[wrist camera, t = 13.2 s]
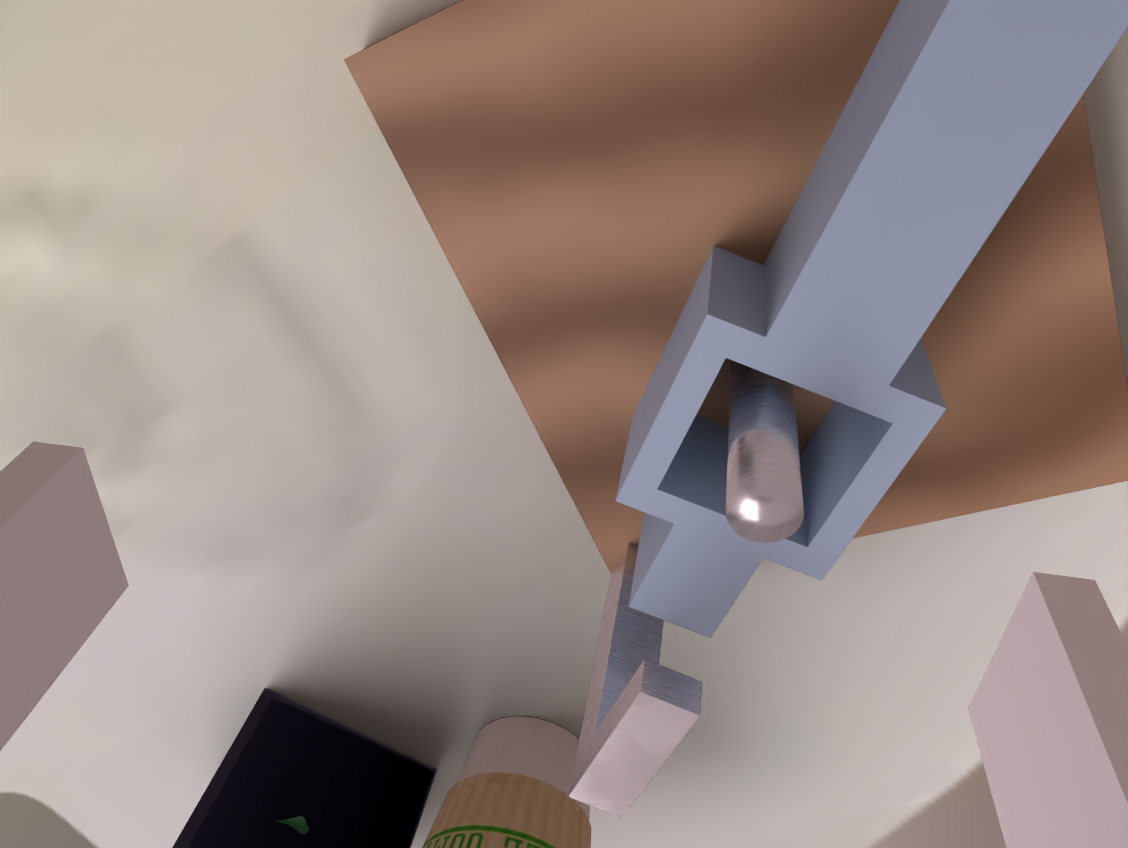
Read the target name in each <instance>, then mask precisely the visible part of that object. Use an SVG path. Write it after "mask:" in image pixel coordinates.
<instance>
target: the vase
mask: <svg viewBox="0 0 1128 848" xmlns="http://www.w3.org/2000/svg"><path fill="white" fill-rule="evenodd" d="M436 771H437V770H436V769H434V768H432V767H430V766H428V765H425V764H423V763H421V762H419V761H417V760H415V759H413V758H411V757H409V756H406V755H404V754H402V753H400V752H398V751H396V750H394V749H392V748H390V747H387V746H385V745H383V744H381V743H379V742H377V741H375V740H373V739H370V738H368V737H366V736H364V735H362V734H360V733H358V732H356V731H354V730H351V729H349V728H347V727H345V726H343V725H341V724H339V723H337V722H335V721H332V720H330V719H328V718H326V717H324V716H322V715H320V714H318V713H315V712H313V711H311V710H309V709H307V708H305V707H303V706H301V705H299V704H296V703H294V702H292V701H290V700H288V699H286V698H284V697H282V696H279V695H277V694H275V693H273V692H271V691H269V690H267V689H264V690H263V692H262V694H261V695H260V697H259V699H258V701H257V702H256V704H255V706H254V708H253V709H252V711H251V713H250V714H249V716H248V718H247V720H246V721H245V723H244V725H243V727H242V728H241V730H240V732H239V733H238V735H237V737H236V739H235V740H234V742H233V744H232V746H231V747H230V749H229V751H228V752H227V754H226V756H225V758H224V759H223V761H222V763H221V765H220V766H219V768H218V770H217V771H216V773H215V775H214V777H213V778H212V780H211V782H210V784H209V785H208V787H207V789H206V790H205V792H204V794H203V796H202V797H201V799H200V801H199V803H198V804H197V806H196V808H195V809H194V811H193V813H192V815H191V816H190V818H189V820H188V822H187V823H186V825H185V827H184V829H183V830H182V832H181V834H180V835H179V837H178V839H177V841H176V842H175V844H174V846H173V848H411V845H412V842H413V839H414V836H415V833H416V830H417V827H418V824H419V821H420V818H421V815H422V813H423V810H424V807H425V804H426V801H427V798H428V795H429V792H430V789H431V786H432V783H433V780H434V777H435V774H436Z"/></svg>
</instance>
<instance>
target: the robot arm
mask: <svg viewBox="0 0 1128 848" xmlns="http://www.w3.org/2000/svg"><path fill="white" fill-rule="evenodd" d="M128 586H129V585H128V582H127V579H126V576H125V573H124V570H123V567H122V564H121V561H120V558H119V555H118V552H117V549H116V546H115V543H114V540H113V537H112V534H111V531H110V528H109V525H108V522H107V519H106V516H105V513H104V510H103V507H102V504H101V501H100V498H99V495H98V492H97V489H96V486H95V483H94V479H93V476H92V473H91V470H90V467H89V464H88V461H87V458H86V455H85V452H84V449H83V448H79V447H72V446H64V445H56V444H49V443H41V442H32V443H31V444H30V445H29V446H28V447H27V448H26V449H25V450H24V451H22V452H21V453H20V454H19V455H18V456H17V457H16V458H15V459H14V460H12V461H11V462H10V463H9V464H8V465H7V466H6V467H5V468H4V469H3V470H1V471H0V751H1V750H2V748H3V747H4V746H5V744H6V743H7V742H8V741H9V739H10V738H11V737H12V735H13V734H14V733H15V731H16V730H17V729H18V728H19V726H20V725H21V724H22V722H23V721H24V720H25V719H26V717H27V716H28V715H29V713H30V712H31V711H32V710H33V708H34V707H35V706H36V704H37V703H38V702H39V701H40V699H41V698H42V697H43V695H44V694H45V693H46V691H47V690H48V689H49V688H50V686H51V685H52V684H53V682H54V681H55V680H56V679H57V677H58V676H59V675H60V673H61V672H62V671H63V670H64V668H65V667H66V666H67V664H68V663H69V662H70V660H71V659H72V658H73V657H74V655H75V654H76V653H77V651H78V650H79V649H80V648H81V646H82V645H83V644H84V642H85V641H86V640H87V639H88V637H89V636H90V635H91V633H92V632H93V631H94V630H95V628H96V627H97V626H98V624H99V623H100V622H101V620H102V619H103V618H104V617H105V615H106V614H107V613H108V611H109V610H110V609H111V608H112V606H113V605H114V604H115V602H116V601H117V600H118V599H119V597H120V596H121V595H122V593H123V592H124V591H125V590H126V588H127V587H128ZM968 709H969V713H970V716H971V720H972V724H973V727H974V731H975V735H976V738H977V742H978V746H979V749H980V753H981V757H982V760H983V764H984V767H985V771H986V775H987V778H988V782H989V786H990V789H991V793H992V797H993V800H994V804H995V808H996V811H997V815H998V819H999V822H1000V826H1001V829H1002V833H1003V837H1004V840H1005V844H1006V848H1128V647H1127V645H1126V643H1125V641H1124V639H1123V637H1122V635H1121V633H1120V631H1119V629H1118V626H1117V624H1116V622H1115V620H1114V618H1113V616H1112V614H1111V612H1110V610H1109V608H1108V606H1107V604H1106V602H1105V600H1104V598H1103V596H1102V594H1101V591H1100V589H1099V587H1098V585H1097V583H1096V581H1095V580H1090V579H1082V578H1074V577H1067V576H1059V575H1051V574H1044V573H1036V572H1033V573H1032V575H1031V577H1030V579H1029V582H1028V584H1027V586H1026V588H1025V590H1024V592H1023V594H1022V596H1021V598H1020V600H1019V603H1018V605H1017V607H1016V609H1015V611H1014V613H1013V615H1012V617H1011V619H1010V621H1009V624H1008V626H1007V628H1006V630H1005V632H1004V634H1003V636H1002V638H1001V640H1000V642H999V644H998V647H997V649H996V651H995V653H994V655H993V657H992V659H991V661H990V663H989V665H988V668H987V670H986V672H985V674H984V676H983V678H982V680H981V682H980V684H979V686H978V689H977V691H976V693H975V695H974V697H973V699H972V701H971V703H970V705H969V707H968Z"/></svg>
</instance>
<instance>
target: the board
mask: <svg viewBox="0 0 1128 848" xmlns="http://www.w3.org/2000/svg"><path fill="white" fill-rule="evenodd" d="M899 1H900V0H462V1H460V2H458V3H456V4H454V5H452V6H450V7H448V8H446V9H444V10H442V11H440V12H438V13H436V14H434V15H432V16H430V17H428V18H426V19H424V20H422V21H420V22H418V23H416V24H414V25H412V26H410V27H408V28H406V29H404V30H402V31H400V32H398V33H396V34H394V35H392V36H390V37H388V38H386V39H384V40H382V41H380V42H378V43H376V44H374V45H372V46H370V47H368V48H366V49H364V50H362V51H360V52H358V53H356V54H354V55H352V56H350V57H348V58H346V59H344V60H345V62H346V64H347V66H348V68H349V70H350V72H351V74H352V76H353V78H354V80H355V82H356V84H357V85H358V87H359V89H360V91H361V93H362V95H363V97H364V99H365V101H366V103H367V105H368V107H369V109H370V110H371V112H372V114H373V116H374V118H375V120H376V122H377V124H378V126H379V128H380V130H381V132H382V134H383V135H384V137H385V139H386V141H387V143H388V145H389V147H390V149H391V151H392V153H393V155H394V157H395V159H396V161H397V162H398V164H399V166H400V168H401V170H402V172H403V174H404V176H405V178H406V180H407V182H408V184H409V186H410V187H411V189H412V191H413V193H414V195H415V197H416V199H417V201H418V203H419V205H420V207H421V209H422V211H423V212H424V214H425V216H426V218H427V220H428V222H429V224H430V226H431V228H432V230H433V232H434V234H435V236H436V238H437V239H438V241H439V243H440V245H441V247H442V249H443V251H444V253H445V255H446V257H447V259H448V261H449V263H450V264H451V266H452V268H453V270H454V272H455V274H456V276H457V278H458V280H459V282H460V284H461V286H462V288H463V289H464V291H465V293H466V295H467V297H468V299H469V301H470V303H471V305H472V307H473V309H474V311H475V313H476V315H477V316H478V318H479V320H480V322H481V324H482V326H483V328H484V330H485V332H486V334H487V336H488V338H489V340H490V341H491V343H492V345H493V347H494V349H495V351H496V353H497V355H498V357H499V359H500V361H501V363H502V365H503V366H504V368H505V370H506V372H507V374H508V376H509V378H510V380H511V382H512V384H513V386H514V388H515V390H516V392H517V393H518V395H519V397H520V399H521V401H522V403H523V405H524V407H525V409H526V411H527V413H528V415H529V417H530V418H531V420H532V422H533V424H534V426H535V428H536V430H537V432H538V434H539V436H540V438H541V440H542V442H543V443H544V445H545V447H546V449H547V451H548V453H549V455H550V457H551V459H552V461H553V463H554V465H555V467H556V469H557V470H558V472H559V474H560V476H561V478H562V480H563V482H564V484H565V486H566V488H567V490H568V492H569V494H570V495H571V497H572V499H573V501H574V503H575V505H576V507H577V509H578V511H579V513H580V515H581V517H582V519H583V520H584V522H585V524H586V526H587V528H588V530H589V532H590V534H591V536H592V538H593V540H594V542H595V544H596V545H597V547H598V549H599V551H600V553H601V555H602V557H603V559H604V561H605V563H606V565H607V567H608V569H609V571H610V572H611V573H612V571H613V569H614V567H615V566H616V564H617V562H618V560H619V559H620V557H621V555H622V554H623V552H624V550H625V548H626V547H627V545H628V543H630V544H632V545H634V546H637V547H638V546H639V539H640V533H641V527H642V521H643V515H644V513H645V512H642V511H640V510H637V509H635V508H632V507H629V506H627V505H624V504H622V503H619V502H616V501H615V500H616V496H617V491H618V486H619V481H620V476H621V471H622V466H623V462H624V457H625V452H626V447H627V442H628V437H629V432H630V428H631V423H632V418H633V415H634V413H635V411H636V409H637V407H638V404H639V402H640V400H641V398H642V396H643V394H644V392H645V390H646V387H647V385H648V383H649V381H650V379H651V377H652V375H653V373H654V370H655V368H656V366H657V364H658V362H659V360H660V358H661V356H662V354H663V351H664V349H665V347H666V345H667V343H668V341H669V339H670V337H671V334H672V332H673V330H674V328H675V326H676V324H677V322H678V320H679V317H680V315H681V313H682V311H683V309H684V307H685V305H686V303H687V300H688V298H689V296H690V294H691V292H692V290H693V288H694V286H695V283H696V281H697V279H698V277H699V275H700V273H701V271H702V269H703V267H704V264H705V262H706V260H707V258H708V256H709V254H710V252H711V250H712V247H713V246H716V247H719V248H721V249H724V250H726V251H729V252H731V253H734V254H736V255H739V256H741V257H744V258H746V259H749V260H751V261H754V262H756V263H759V264H761V265H764V263H765V261H766V259H767V257H768V255H769V253H770V251H771V249H772V247H773V246H774V244H775V242H776V240H777V238H778V236H779V234H780V232H781V230H782V228H783V226H784V224H785V222H786V220H787V218H788V216H789V214H790V213H791V211H792V209H793V207H794V205H795V203H796V201H797V199H798V197H799V195H800V193H801V191H802V189H803V187H804V185H805V183H806V181H807V179H808V178H809V176H810V174H811V172H812V170H813V168H814V166H815V164H816V162H817V160H818V158H819V156H820V154H821V152H822V150H823V148H824V146H825V145H826V143H827V141H828V139H829V137H830V135H831V133H832V131H833V129H834V127H835V125H836V123H837V121H838V119H839V117H840V115H841V113H842V112H843V110H844V108H845V106H846V104H847V102H848V100H849V98H850V96H851V94H852V92H853V90H854V88H855V86H856V84H857V82H858V80H859V78H860V77H861V75H862V73H863V71H864V69H865V67H866V65H867V63H868V61H869V59H870V57H871V55H872V53H873V51H874V49H875V47H876V45H877V44H878V42H879V40H880V38H881V36H882V34H883V32H884V30H885V28H886V26H887V24H888V22H889V20H890V18H891V16H892V14H893V12H894V10H895V9H896V7H897V5H898V3H899ZM921 338H922V341H923V344H924V347H925V350H926V352H927V355H928V358H929V361H930V364H931V367H932V369H933V372H934V375H935V378H936V381H937V384H938V386H939V389H940V392H941V395H942V398H943V400H944V403H945V406H946V410H945V411H944V413H943V414H942V415H941V417H940V418H939V419H938V421H937V422H936V424H935V425H934V426H933V428H932V429H931V431H930V432H929V433H928V435H927V436H926V437H925V439H924V440H923V442H922V443H921V444H920V446H919V447H918V448H917V450H916V451H915V453H914V454H913V455H912V457H911V458H910V459H909V461H908V462H907V464H906V465H905V466H904V468H903V469H902V471H901V472H900V473H899V475H898V476H897V477H896V479H895V480H894V482H893V483H892V484H891V486H890V487H889V488H888V490H887V491H886V493H885V494H884V495H883V497H882V498H881V499H880V501H879V502H878V504H877V505H876V506H875V508H874V509H873V510H872V512H871V513H870V515H869V516H868V517H867V519H866V520H865V522H864V523H863V524H862V526H861V527H860V528H859V530H858V531H857V533H856V534H855V535H854V537H853V538H856V537H861V536H865V535H870V534H875V533H880V532H884V531H889V530H894V529H899V528H904V527H908V526H913V525H918V524H923V523H927V522H932V521H937V520H942V519H947V518H951V517H956V516H961V515H966V514H970V513H975V512H980V511H985V510H990V509H994V508H999V507H1004V506H1009V505H1014V504H1018V503H1023V502H1028V501H1033V500H1037V499H1042V498H1047V497H1052V496H1057V495H1061V494H1066V493H1071V492H1076V491H1080V490H1085V489H1090V488H1095V487H1100V486H1104V485H1109V484H1114V483H1119V482H1124V481H1128V387H1127V380H1126V374H1125V367H1124V361H1123V354H1122V348H1121V341H1120V334H1119V328H1118V321H1117V315H1116V308H1115V302H1114V295H1113V288H1112V282H1111V275H1110V269H1109V262H1108V256H1107V249H1106V243H1105V236H1104V229H1103V223H1102V216H1101V210H1100V203H1099V197H1098V190H1097V183H1096V177H1095V170H1094V164H1093V157H1092V151H1091V144H1090V137H1089V131H1088V124H1087V118H1086V111H1085V105H1084V98H1083V95H1082V96H1081V98H1080V99H1079V101H1078V102H1077V104H1076V105H1075V107H1074V108H1073V110H1072V111H1071V113H1070V114H1069V116H1068V117H1067V119H1066V120H1065V122H1064V123H1063V125H1062V126H1061V128H1060V129H1059V131H1058V132H1057V134H1056V135H1055V137H1054V138H1053V140H1052V141H1051V143H1050V144H1049V146H1048V147H1047V149H1046V150H1045V152H1044V153H1043V155H1042V156H1041V158H1040V159H1039V161H1038V162H1037V164H1036V165H1035V167H1034V168H1033V170H1032V171H1031V173H1030V174H1029V176H1028V177H1027V179H1026V180H1025V182H1024V183H1023V185H1022V186H1021V188H1020V189H1019V191H1018V192H1017V194H1016V195H1015V197H1014V198H1013V200H1012V201H1011V203H1010V204H1009V206H1008V207H1007V209H1006V210H1005V212H1004V213H1003V215H1002V216H1001V218H1000V219H999V221H998V222H997V224H996V226H995V227H994V229H993V230H992V232H991V233H990V235H989V236H988V238H987V239H986V241H985V242H984V244H983V245H982V247H981V248H980V250H979V251H978V253H977V254H976V256H975V257H974V259H973V260H972V262H971V263H970V265H969V266H968V268H967V269H966V271H965V272H964V274H963V275H962V277H961V278H960V280H959V281H958V283H957V284H956V286H955V287H954V289H953V290H952V292H951V293H950V295H949V296H948V298H947V299H946V301H945V302H944V304H943V305H942V307H941V308H940V310H939V311H938V313H937V314H936V316H935V317H934V319H933V320H932V322H931V323H930V325H929V326H928V328H927V329H926V331H925V332H924V334H923V335H922V337H921ZM731 361H732V360H730V359H728V358H726V359H725V361H724V363H723V364H722V366H721V368H720V370H719V372H718V374H717V376H716V378H715V380H714V382H713V384H712V386H711V387H710V389H709V391H708V393H707V395H706V397H705V399H704V401H703V403H702V405H701V407H700V408H699V410H698V412H697V414H696V416H699V417H701V418H704V419H707V420H709V421H712V422H714V423H717V424H719V425H722V426H725V427H727V428H729V404H730V376H731ZM793 388H794V400H795V412H796V424H797V436H798V448H799V456H800V455H801V453H802V452H803V450H804V449H805V447H806V445H807V444H808V442H809V441H810V439H811V437H812V436H813V434H814V433H815V431H816V430H817V428H818V426H819V425H820V423H821V422H822V420H823V418H824V417H825V415H826V414H827V412H828V410H829V409H830V407H831V406H832V404H833V402H834V401H835V400H832V399H829V398H827V397H824V396H822V395H819V394H817V393H814V392H812V391H809V390H807V389H804V388H801V387H799V386H796V385H794V384H793Z"/></svg>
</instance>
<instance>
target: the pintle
mask: <svg viewBox="0 0 1128 848" xmlns="http://www.w3.org/2000/svg"><path fill="white" fill-rule="evenodd" d="M803 517H804V508H803V496H802V484H801V472H800V460H799V448H798V436H797V424H796V412H795V400H794V388H793V384H791V383H789V382H786V381H784V380H781V379H779V378H776V377H773V376H771V375H768V374H766V373H763V372H761V371H758V370H756V369H753V368H751V367H748V366H746V365H743V364H740V363H738V362H735V361H733V360H732V361H731V376H730V404H729V432H728V460H727V489H726V518H727V521H728V524H729V525H730V527H731V528H732V529H733V530H734V532H736V533H737V534H738V535H740V536H741V537H743V538H745V539H747V540H750V541H753V542H759V543H772V542H777V541H781V540H784V539H786V538H788V537H790V536H791V535H792V534H794V533H795V532H796V531H797V530H798V528H799V527H800V525H801V524H802V521H803Z"/></svg>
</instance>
